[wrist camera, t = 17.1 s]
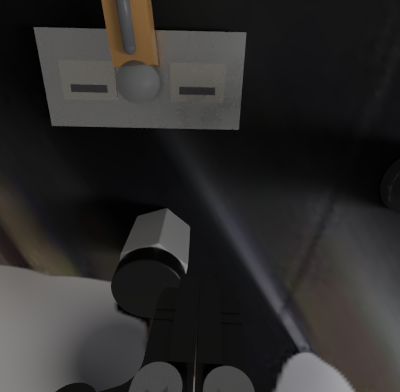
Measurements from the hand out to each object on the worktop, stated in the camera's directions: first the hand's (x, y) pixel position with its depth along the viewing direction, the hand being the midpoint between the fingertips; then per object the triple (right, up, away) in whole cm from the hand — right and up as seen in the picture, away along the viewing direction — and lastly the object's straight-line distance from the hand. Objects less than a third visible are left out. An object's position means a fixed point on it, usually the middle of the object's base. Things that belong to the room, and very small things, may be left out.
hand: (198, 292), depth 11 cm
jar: (-6, -2, +31) cm, 31 cm away
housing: (-6, +17, +22) cm, 29 cm away
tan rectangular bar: (-7, +21, +17) cm, 28 cm away
